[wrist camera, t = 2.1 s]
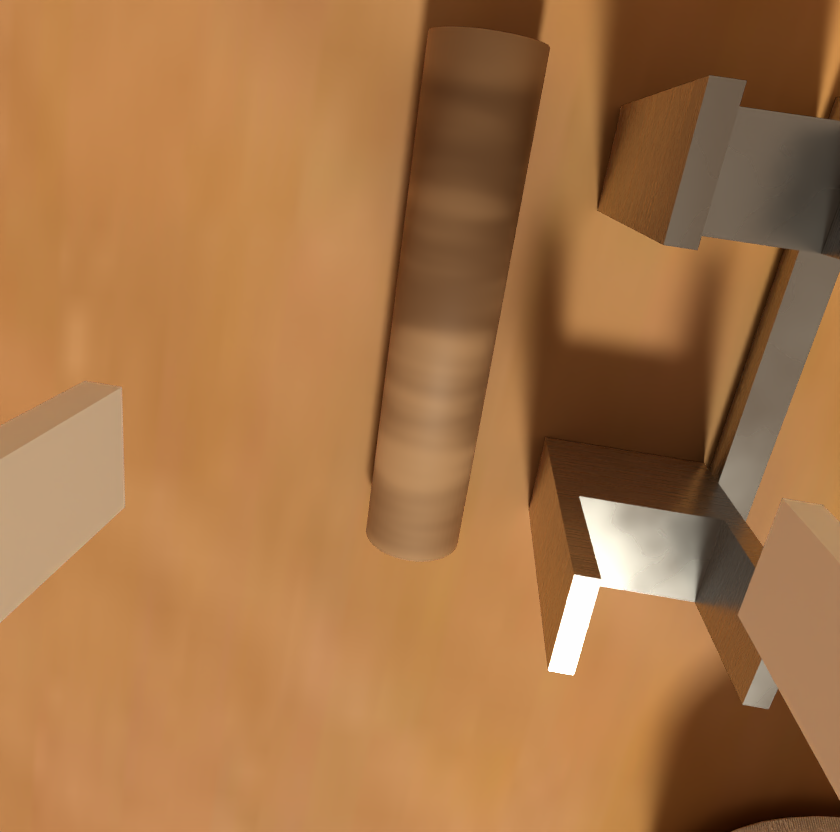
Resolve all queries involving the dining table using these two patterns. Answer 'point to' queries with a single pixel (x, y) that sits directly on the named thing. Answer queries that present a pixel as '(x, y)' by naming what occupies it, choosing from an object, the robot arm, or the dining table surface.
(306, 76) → the dining table surface
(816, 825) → the planter
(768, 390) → the bracket
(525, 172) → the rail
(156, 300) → the dining table surface
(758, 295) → the dining table surface
